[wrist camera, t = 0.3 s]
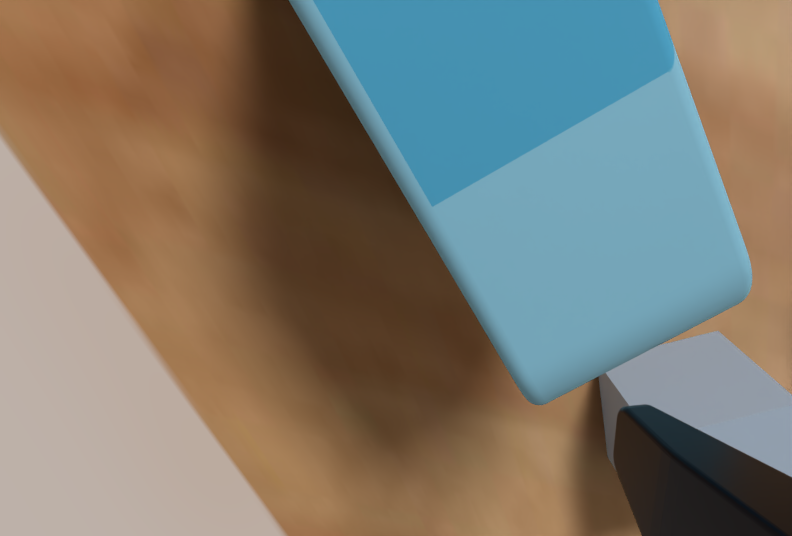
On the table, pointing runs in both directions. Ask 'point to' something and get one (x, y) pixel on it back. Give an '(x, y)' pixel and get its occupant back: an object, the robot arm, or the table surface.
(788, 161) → the table surface
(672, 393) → the blue cube
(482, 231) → the data package
